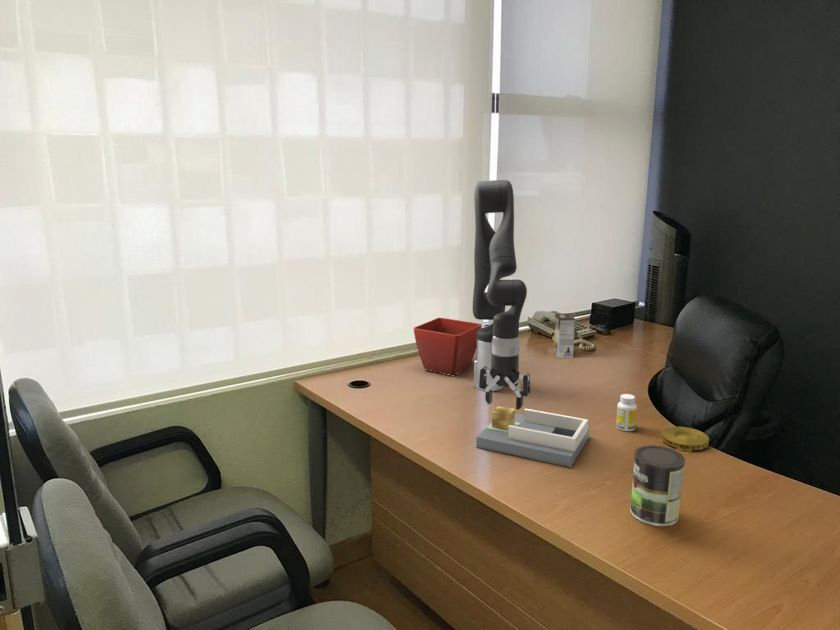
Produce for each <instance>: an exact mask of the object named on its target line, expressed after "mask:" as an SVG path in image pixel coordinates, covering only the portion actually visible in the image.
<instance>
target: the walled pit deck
mask: <svg viewBox="0 0 840 630" xmlns="http://www.w3.org/2000/svg"><path fill="white" fill-rule="evenodd" d="M588 421H589V420H588V419H586V418H580V417H575V416H571V415H570V416H569V415H563V414H558V413H553V412H547V411H541V410H535V409H529V408H524V409H523V414H520V413H515V424H514V425H513V426H512V425H509V426H508V430H504V429H499V428H494V427H492V421H491V422H490V423H488V425H486V427H485V428H484V429H483V430H481V432H480V433H479V434H478V435H477V436H476V441H475V443H476V446H475V447H476V448H478V447H479V449H483V450H487V449H488V450H489V451H493V452H497V451H498V453H501V452H502V453H501V454H506V453H507V455H511V454H513V455H512V456H515V455H517V457H520V456H521V458H525V457H526V458H525V459H529V458H530V460H535V461H539V462H543V463H548V464H554V465H558V466H563V467H567V468H572V466H573V464H574V463H575V461H576V459H577V458H578V456H579V454H580V453H581V452H582V450H583V448H584V447H585V445H586V443H587V441H588V440H589V439H590V430H591V428H590V426H588V425H589V423H588Z"/></svg>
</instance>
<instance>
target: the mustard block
mask: <svg viewBox="0 0 840 630" xmlns="http://www.w3.org/2000/svg"><path fill="white" fill-rule="evenodd" d="M515 414H516V408H512V407H506V406H501V405H500V406H499V405H498V406H497V407H496V408H494V410H492V411H491V422H492V427H494V428H499V429H504V430H508V426H509V425H512V426H513V425H514V424H515Z"/></svg>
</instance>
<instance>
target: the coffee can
mask: <svg viewBox="0 0 840 630" xmlns="http://www.w3.org/2000/svg"><path fill="white" fill-rule="evenodd" d="M685 463H686V458H685V456H684V455H683V454H682V453H680V452H679V451H677V450H675V449H674V448H673V449H672V448H670V447H666V446H662V445H653V444H652V445H642V446H639V447H637V448H636V449H635V450H634V462H633V475H632V485H631V486H632V488H631V498H630V506H629V507H630V508H629V511H630V512H629V513H630V514H631V515H632V517H634V518H635V519H636V520H637V519H638V521H639V522H641V523H644V524H646V525H649V526H654V527H661V528H662V527H664V528H665V527H670V526H673V525H675V524H677V523H678V522H679V519H680V514H679V513H680V505H681V497H682V487H683V478H684V470H685V469H684V468H685Z"/></svg>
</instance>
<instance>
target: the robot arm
mask: <svg viewBox="0 0 840 630" xmlns="http://www.w3.org/2000/svg"><path fill="white" fill-rule="evenodd" d="M473 193H474V194H473V195H474V196H473V197H474V198H473V200H474V220H475V221H474V223H475V232H474V233H475V236H474V251H473V252H474V255H473V256H474V257H473V258H474V259H473V262H474V263H473V265H474V269H473V270H474V284H473V285H474V287H473V297H472V315H473V317H474V319H476V320H482V321H486V320H487V321H492V323H491V324H488V325H487V326H484V327H481V329H479V330H478V331H477V348H476V351H475V354H476V357H475V360H474V361H473V388H475V389H478V390H481V391H483V392H484V391H485V396H484V397H485V402H486V403H487V405H491V404H492V403H493V392H497V391H500V390H502V389H503V387H504V388H510V389H511V390H512V392H514V393H515V396H516V400H515V410H517V411H518V410H520V409H521V408H522V407H523V405H524V397H528V396H529V394H530V393H531V374H530V373H526V372H525V373H520V371H519V368H520V367H519V366H520V365H519V364H520V352H521V351H520V338H519V337H520V335H519V334H520V333H519V332H520V320H521V319H520V318H521V316H522V315H521V314H522V311H523V307H524V305H525V301H526V299H527V295H528V294H527V293H528V291H527V289H528V288H527V286H526V283H525V282H524V281H523V280H521V279H503V278H507V277H510V276H513V275H514V274H515V273H516V272H517V265H518V264H517V259H516V250H515V249H516V248H515V242H514V241H515V239H514V237H515V203H514V202H515V199H514V198H515V197H514V189H513V185H512V183H511V181H510V180H507V179H499V180H495V179H493V180H482V181H478V182H477V183H476V184H475V186H474V192H473ZM494 213H495V214H496V213H502V219H501V221H500V224H499V226H498V228H497V230H496V231H495V229H494V228H493V227H492V225H491V224H490V222H489V221H488V218H487V216H486V215H487V214H494ZM486 289H487V290H486ZM507 306H509V307H510V308H509V309H508V310H506V307H507ZM519 379H520V381H521V383H522V387H521V384H520V382H519Z"/></svg>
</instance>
